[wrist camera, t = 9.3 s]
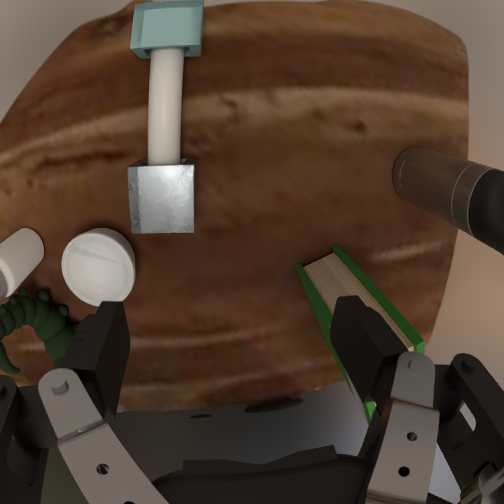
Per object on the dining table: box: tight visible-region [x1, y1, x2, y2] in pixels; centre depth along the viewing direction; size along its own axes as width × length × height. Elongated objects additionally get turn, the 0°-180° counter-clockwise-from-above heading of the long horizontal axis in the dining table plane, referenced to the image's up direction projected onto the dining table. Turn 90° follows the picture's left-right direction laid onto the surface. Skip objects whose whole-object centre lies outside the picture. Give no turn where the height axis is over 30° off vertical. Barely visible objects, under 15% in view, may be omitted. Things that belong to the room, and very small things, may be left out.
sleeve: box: [128, 159, 195, 233], centre depth 37 cm, size 8×8×6 cm
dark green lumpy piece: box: [0, 287, 79, 374], centre depth 39 cm, size 9×19×25 cm
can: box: [0, 228, 44, 300], centre depth 34 cm, size 6×6×12 cm
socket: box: [130, 0, 204, 59], centre depth 28 cm, size 8×6×6 cm
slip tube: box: [148, 47, 185, 165], centre depth 33 cm, size 4×22×4 cm, turn 177°
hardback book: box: [295, 245, 424, 426], centre depth 40 cm, size 18×7×24 cm, turn 24°
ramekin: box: [62, 228, 135, 306], centre depth 40 cm, size 11×11×5 cm
